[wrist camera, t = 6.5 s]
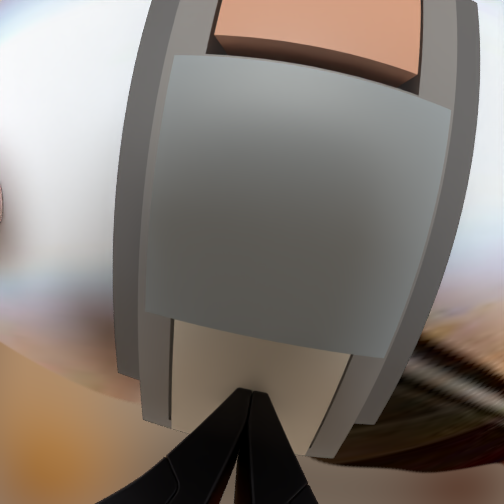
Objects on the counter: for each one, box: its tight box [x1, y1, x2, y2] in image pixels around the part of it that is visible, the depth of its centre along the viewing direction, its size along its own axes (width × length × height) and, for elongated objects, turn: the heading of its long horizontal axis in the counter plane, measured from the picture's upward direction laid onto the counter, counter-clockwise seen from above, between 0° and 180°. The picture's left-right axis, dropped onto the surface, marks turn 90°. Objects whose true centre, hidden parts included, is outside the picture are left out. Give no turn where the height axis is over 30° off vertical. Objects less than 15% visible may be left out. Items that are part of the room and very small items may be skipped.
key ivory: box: [171, 320, 351, 456], centre depth 9 cm, size 4×4×2 cm
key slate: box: [145, 55, 451, 358], centre depth 6 cm, size 4×4×2 cm
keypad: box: [113, 0, 480, 458], centre depth 8 cm, size 11×17×3 cm, turn 170°
